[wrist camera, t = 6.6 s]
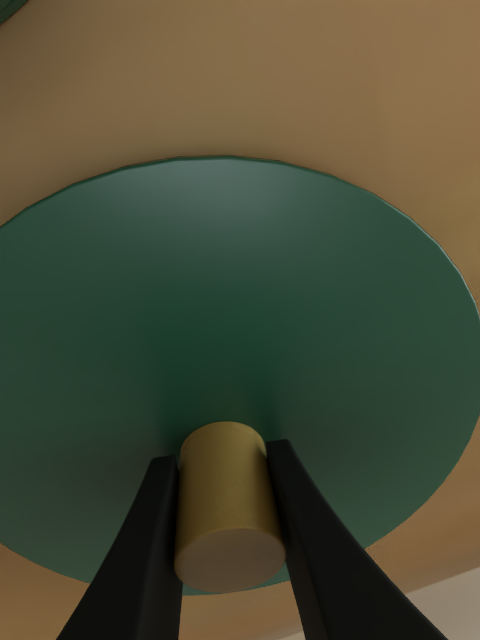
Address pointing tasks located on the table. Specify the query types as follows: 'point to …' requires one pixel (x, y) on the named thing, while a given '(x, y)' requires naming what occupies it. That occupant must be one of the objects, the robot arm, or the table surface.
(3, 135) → the table surface
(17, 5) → the tin
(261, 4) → the table surface
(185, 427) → the tin lid
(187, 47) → the table surface
